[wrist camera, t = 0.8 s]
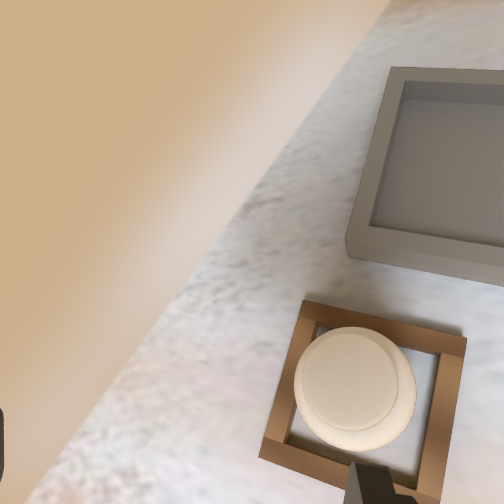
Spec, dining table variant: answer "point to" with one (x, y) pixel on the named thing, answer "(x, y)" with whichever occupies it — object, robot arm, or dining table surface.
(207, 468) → the dining table surface
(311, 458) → the holder frame
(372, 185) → the tray
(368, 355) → the supplement bottle
